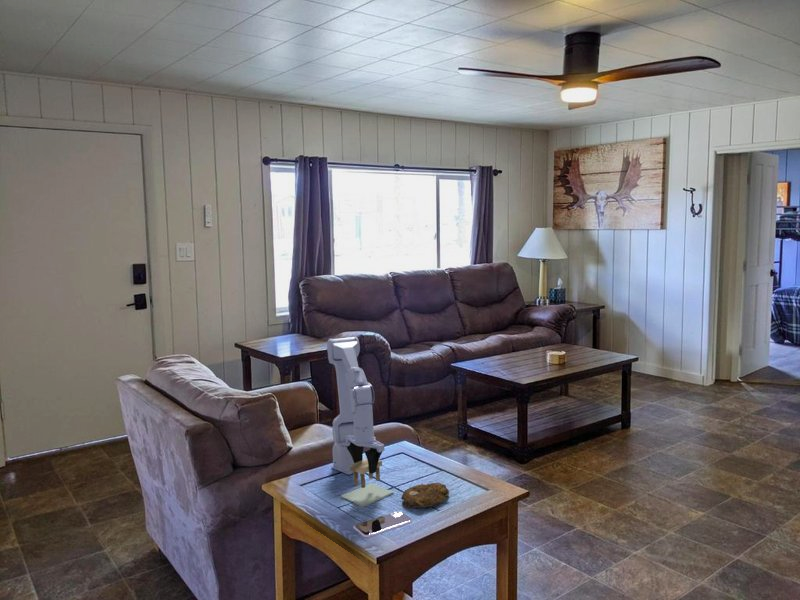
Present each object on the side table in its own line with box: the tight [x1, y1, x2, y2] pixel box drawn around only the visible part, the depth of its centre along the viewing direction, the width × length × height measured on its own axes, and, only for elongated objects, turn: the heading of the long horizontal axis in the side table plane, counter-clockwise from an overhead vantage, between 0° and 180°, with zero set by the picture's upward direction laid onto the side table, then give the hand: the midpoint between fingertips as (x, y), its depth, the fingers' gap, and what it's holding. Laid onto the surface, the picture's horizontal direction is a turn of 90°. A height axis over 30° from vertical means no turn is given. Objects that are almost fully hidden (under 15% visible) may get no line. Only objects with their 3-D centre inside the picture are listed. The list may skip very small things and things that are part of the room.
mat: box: [340, 482, 394, 508], centre depth 184 cm, size 10×12×1 cm
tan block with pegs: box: [350, 457, 383, 488], centre depth 183 cm, size 5×8×6 cm
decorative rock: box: [401, 482, 451, 509], centre depth 179 cm, size 11×4×15 cm
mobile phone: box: [353, 510, 414, 538], centre depth 165 cm, size 8×1×15 cm
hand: (365, 470), depth 183 cm, fingers closed on tan block with pegs, 5 cm apart
